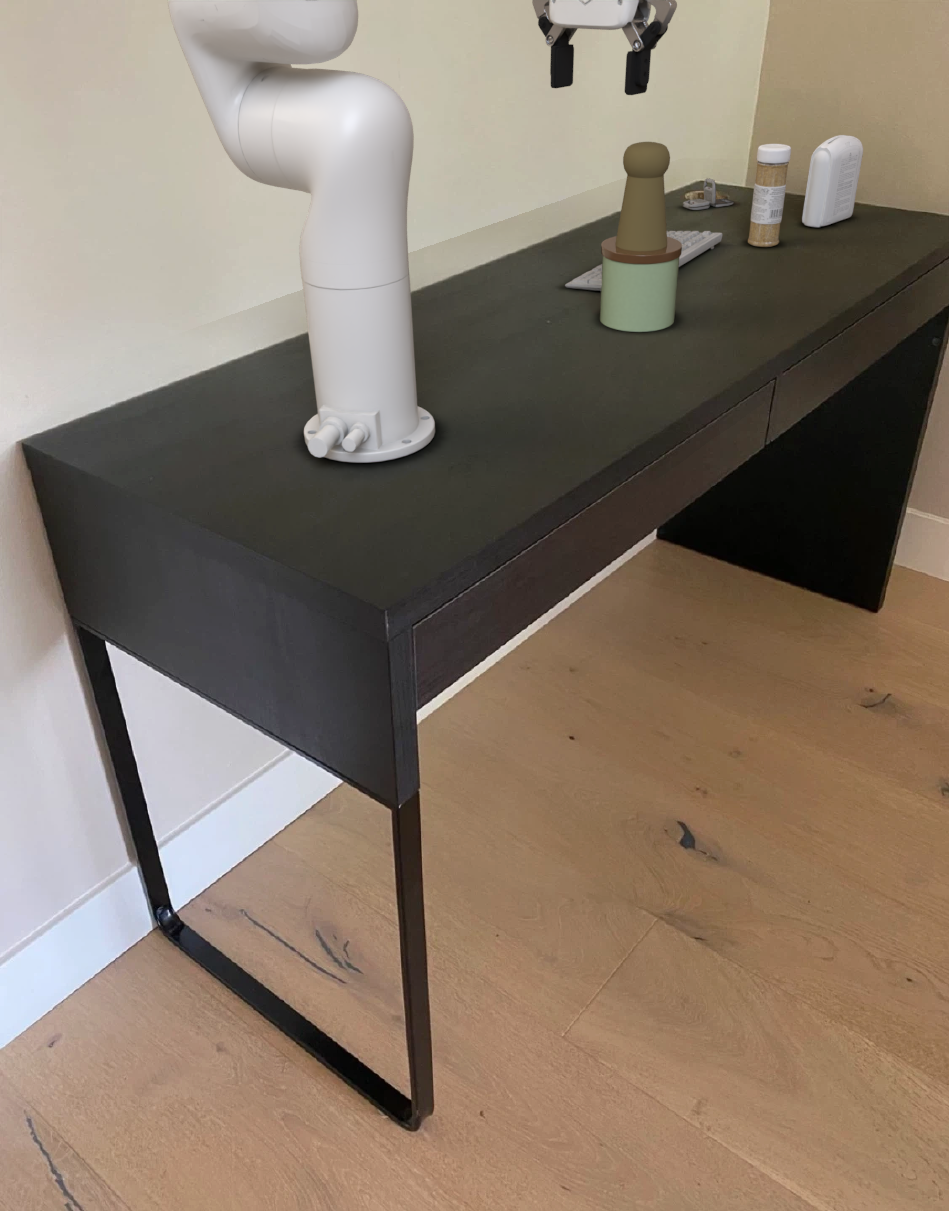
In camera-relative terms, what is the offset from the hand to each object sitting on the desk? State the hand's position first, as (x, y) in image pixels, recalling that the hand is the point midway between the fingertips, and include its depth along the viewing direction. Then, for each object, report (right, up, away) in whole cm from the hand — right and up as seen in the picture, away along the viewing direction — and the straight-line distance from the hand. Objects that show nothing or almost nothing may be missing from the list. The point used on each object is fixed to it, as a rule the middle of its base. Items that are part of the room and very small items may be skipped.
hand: (597, 89), depth 111 cm
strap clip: (+26, +11, +62) cm, 68 cm away
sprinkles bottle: (+29, -2, +42) cm, 52 cm away
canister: (+7, -20, +16) cm, 27 cm away
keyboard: (+11, -7, +35) cm, 37 cm away
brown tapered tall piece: (+6, -13, +11) cm, 18 cm away
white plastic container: (+42, +5, +52) cm, 67 cm away
